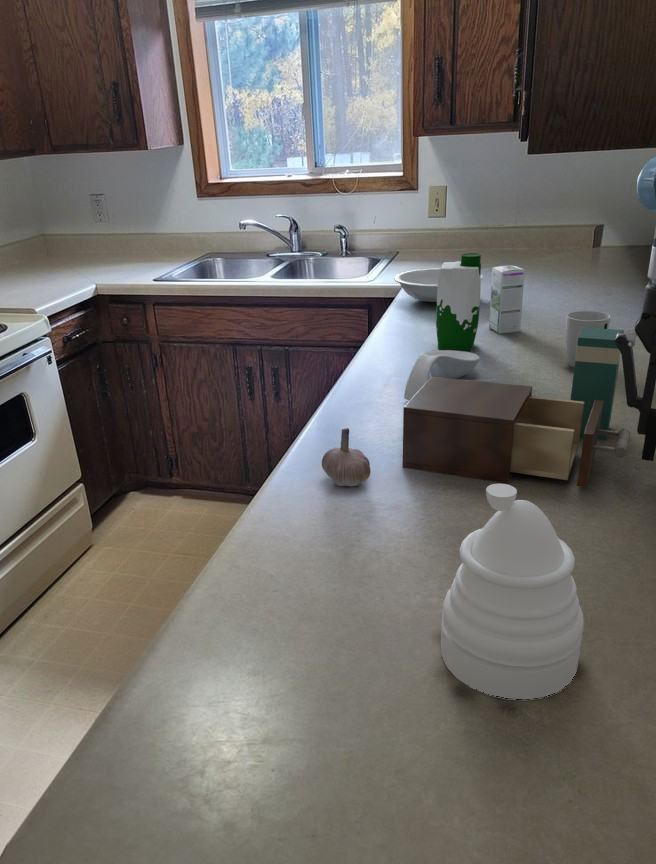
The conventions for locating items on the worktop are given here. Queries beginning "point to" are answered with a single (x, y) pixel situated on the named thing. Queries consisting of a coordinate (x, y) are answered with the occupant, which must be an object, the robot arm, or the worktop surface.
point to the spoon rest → (439, 368)
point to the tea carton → (596, 373)
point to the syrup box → (506, 299)
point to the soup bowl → (421, 283)
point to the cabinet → (462, 427)
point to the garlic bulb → (346, 463)
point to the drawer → (559, 438)
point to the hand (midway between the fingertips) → (647, 456)
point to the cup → (576, 324)
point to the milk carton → (458, 303)
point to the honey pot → (513, 605)
